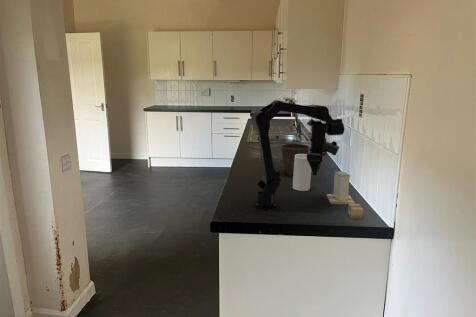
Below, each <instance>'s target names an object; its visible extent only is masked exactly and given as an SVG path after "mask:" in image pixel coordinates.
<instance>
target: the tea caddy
mask: <svg viewBox="0 0 476 317" xmlns="http://www.w3.org/2000/svg"><path fill="white" fill-rule="evenodd" d="M350 177H351V175H350V174H349V173H347V172H345V171H334V180H333V193H332V194H333V197H335V198H336V199H338V200H339V201H340V200H348V195H349V190H350V188H349V187H350Z"/></svg>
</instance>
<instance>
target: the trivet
mask: <svg viewBox="0 0 476 317" xmlns="http://www.w3.org/2000/svg"><path fill="white" fill-rule="evenodd" d="M326 197H327V199H328V201H329V204H330V205H331V204H332V205H349V204H356V202H355V201H354V199H353V198H352V197H351V195H350V194H348V200H340V201H339V200H338V199H336V198H335V197H333V193H332V194H330V193H329V194H328V193H327V194H326Z"/></svg>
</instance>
